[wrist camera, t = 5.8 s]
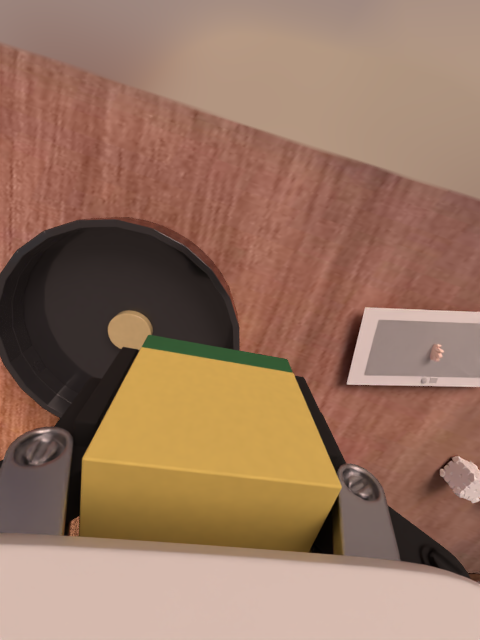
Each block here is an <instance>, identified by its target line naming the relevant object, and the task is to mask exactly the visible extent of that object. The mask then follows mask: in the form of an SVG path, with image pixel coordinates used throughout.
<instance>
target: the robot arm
mask: <svg viewBox="0 0 480 640" xmlns="http://www.w3.org/2000/svg"><path fill="white" fill-rule="evenodd" d="M137 354H138V349H134V348H128V347H122V349H121V350H120V352H119V353H118V355H117V356H116V358H115V359H114V361H113V362H112V364H111V365H110V367H109V368H108V370H107V372H106V373H105V375H104V376H103V378H102V379H101V378H95V377H91V378H90V379H89V380H88V381H87V382H86V384H85V385H84V387H83V388H82V389H81V391H80V392H79V393H78V395H77V396H76V398H75V399H74V400H73V402H72V403H71V404H70V406H69V407H68V409H67V410H66V411H65V413H64V414H63V415H62V417H61V418H60V420H59V421H58V422H57V424H56V425H55V426H54V427H42V428H37V429H34V430H31V431H28V432H26V433H24V434H23V435H21V436H19V437H18V438H17V439H16V440H15V441H13V442H12V443H11V444H10V446H9V448H8V450H7V451H6V454H5V457H4V460H1V461H0V640H480V582H479V581H478V580H476V581H473V580H471V579H470V576H469V575H468V573H467V572H466V570H465V568H464V567H463V566H462V564H461V563H460V562H459V561H458V560H457V559H456V558H455V557H454V556H453V555H452V554H451V553H450V552H449V551H448V550H446V549H445V548H444V547H442V546H441V545H440V544H438V543H437V542H436V541H434V540H433V539H432V538H430V537H429V536H428V535H426V534H425V533H424V532H422V531H421V530H420V529H418V528H417V527H416V526H414V525H413V524H412V523H410V522H409V521H408V520H406V519H405V518H404V517H402V516H401V515H400V514H398V513H397V512H396V511H394V510H393V509H392V508H390V507H389V506H388V505H387V501H386V497H385V493H384V490H383V488H382V486H381V484H380V483H379V481H378V480H377V479H376V478H375V477H374V476H373V475H372V474H371V473H370V472H368V471H367V470H366V469H364V468H362V467H360V466H358V465H354V464H346V462H345V460H344V458H343V456H342V454H341V452H340V450H339V448H338V446H337V444H336V442H335V439H334V437H333V435H332V433H331V431H330V429H329V427H328V425H327V423H326V421H325V419H324V417H323V415H322V413H321V412H320V410H319V408H318V406H317V404H316V402H315V400H314V398H313V396H312V394H311V391H310V389H309V387H308V385H307V383H306V381H305V379H304V377H299V376H295V378H296V381H297V383H298V385H299V388H300V390H301V392H302V395H303V397H304V399H305V402H306V404H307V406H308V409H309V411H310V413H311V416H312V418H313V420H314V423H315V425H316V427H317V430H318V432H319V434H320V437H321V439H322V441H323V444H324V446H325V448H326V451H327V453H328V455H329V458H330V460H331V462H332V465H333V467H334V469H335V472H336V474H337V476H338V479H339V481H340V483H341V486H342V489H341V490H340V492H339V494H338V496H337V498H336V500H335V502H334V504H333V506H332V508H331V510H330V512H329V514H328V516H327V517H326V519H325V521H324V523H323V525H322V527H321V529H320V531H319V533H318V535H317V537H316V539H315V541H314V543H313V544H312V546H311V548H310V550H309V552H308V553H306V552H293V551H280V550H267V549H253V548H240V547H226V546H212V545H198V544H184V543H170V542H155V541H140V540H125V539H110V538H95V537H80V536H70V527H71V521H72V520H73V519H75V518H77V517H78V516H80V496H81V473H82V458H83V456H84V454H85V452H86V450H87V448H88V446H89V444H90V443H91V441H92V439H93V437H94V435H95V433H96V431H97V429H98V428H99V426H100V424H101V422H102V420H103V418H104V416H105V414H106V412H107V411H108V409H109V407H110V405H111V403H112V401H113V399H114V397H115V396H116V394H117V392H118V390H119V388H120V386H121V384H122V382H123V381H124V379H125V377H126V375H127V373H128V371H129V369H130V367H131V365H132V364H133V362H134V360H135V358H136V356H137Z"/></svg>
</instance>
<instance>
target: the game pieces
mask: <svg viewBox="0 0 480 640" xmlns="http://www.w3.org/2000/svg"><path fill="white" fill-rule="evenodd" d="M452 460H453V461H454V462H453V461H450V462H449V463H448V465H446V466H445V467H444V469H440V476H441V477H443V478H444V480H445V481H446V482H447V483H449V484H448V485H449V486H450V487H451V488H452V489H453V492H454V493H455V494H456V495H457V496H459V497H460V498H461V497H462V498H464V499H467V500H469V501H471V502H472V503H475V502H479V501H480V500H479V498H480V470H479V469H478V467H477V466H476V465H475V464H473V463H472V462H471V461H470V462H468V461H467V460H464V459H462V458H460V457H459V456H456V457H453V458H452ZM478 497H479V498H478Z"/></svg>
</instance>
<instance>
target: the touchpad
mask: <svg viewBox="0 0 480 640" xmlns="http://www.w3.org/2000/svg"><path fill="white" fill-rule="evenodd" d="M346 385H400V386H455V387H480V312H464V311H440V310H416V309H392V308H368V307H365V310H364V314H363V318H362V322H361V326H360V330H359V334H358V338H357V343H356V347H355V351H354V355H353V359H352V363H351V367H350V371H349V376H348V380H347V384H346Z"/></svg>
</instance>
